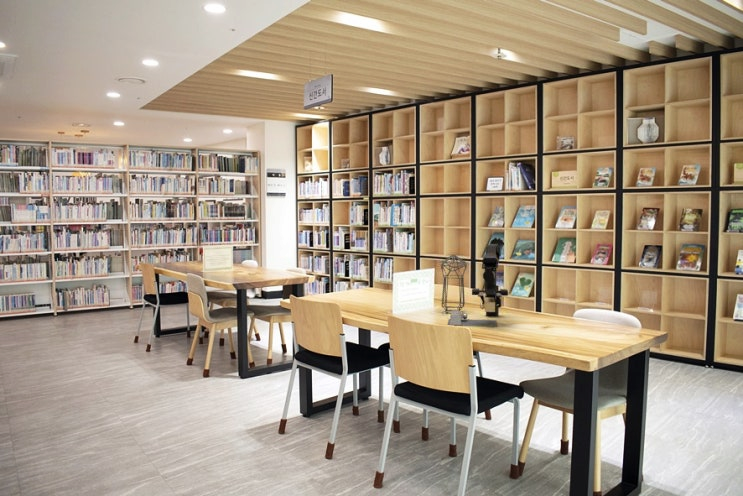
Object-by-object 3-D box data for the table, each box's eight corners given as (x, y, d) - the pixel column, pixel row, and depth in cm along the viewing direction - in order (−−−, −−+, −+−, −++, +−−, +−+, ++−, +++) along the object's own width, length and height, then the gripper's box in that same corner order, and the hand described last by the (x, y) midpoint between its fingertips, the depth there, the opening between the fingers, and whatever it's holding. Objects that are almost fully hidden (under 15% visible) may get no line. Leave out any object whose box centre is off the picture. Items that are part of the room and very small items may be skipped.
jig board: (448, 320, 324) (448, 318, 324) (496, 322, 320) (496, 320, 320) (447, 327, 307) (447, 325, 307) (497, 328, 302) (497, 327, 302)
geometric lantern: (466, 310, 356) (467, 253, 352) (465, 315, 340) (466, 256, 337) (440, 309, 358) (441, 252, 355) (438, 314, 343) (439, 255, 340)
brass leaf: (479, 306, 320) (479, 297, 319) (493, 306, 318) (494, 297, 318) (479, 311, 304) (479, 302, 304) (494, 311, 303) (495, 302, 302)
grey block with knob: (451, 319, 323) (451, 310, 323) (467, 319, 322) (467, 310, 321) (450, 325, 307) (450, 315, 307) (466, 325, 306) (467, 316, 306)
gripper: (472, 280, 304) (471, 310, 305) (508, 281, 300) (508, 311, 302) (472, 278, 315) (471, 306, 316) (507, 278, 311) (507, 307, 312)
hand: (489, 308), depth 311 cm, fingers closed on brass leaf, 5 cm apart
